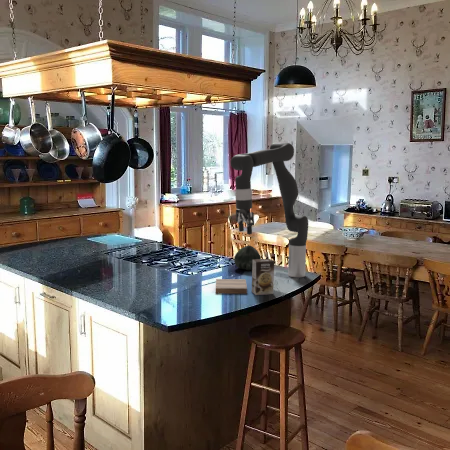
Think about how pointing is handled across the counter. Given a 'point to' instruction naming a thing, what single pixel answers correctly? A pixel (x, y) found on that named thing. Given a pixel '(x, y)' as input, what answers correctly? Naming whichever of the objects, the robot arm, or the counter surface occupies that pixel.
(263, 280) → the coffee box
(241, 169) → the robot arm
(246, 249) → the squash
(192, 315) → the counter surface
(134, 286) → the counter surface
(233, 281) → the wooden board
